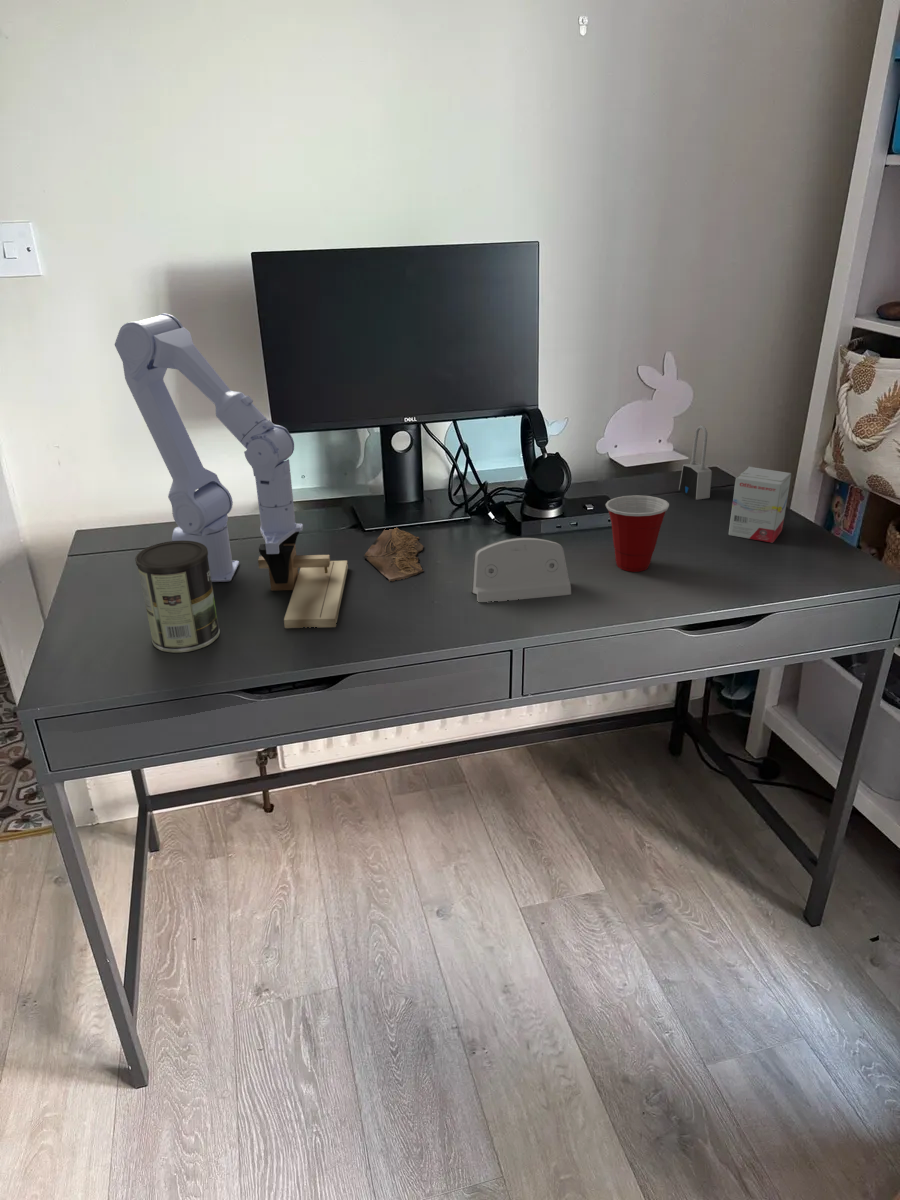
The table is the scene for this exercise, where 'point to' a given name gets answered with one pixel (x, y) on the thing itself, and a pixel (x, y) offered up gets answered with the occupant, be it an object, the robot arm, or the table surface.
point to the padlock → (696, 473)
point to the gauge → (296, 567)
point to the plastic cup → (635, 529)
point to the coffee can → (178, 595)
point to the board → (317, 596)
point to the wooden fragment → (395, 554)
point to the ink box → (759, 504)
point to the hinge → (519, 570)
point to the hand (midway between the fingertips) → (284, 575)
